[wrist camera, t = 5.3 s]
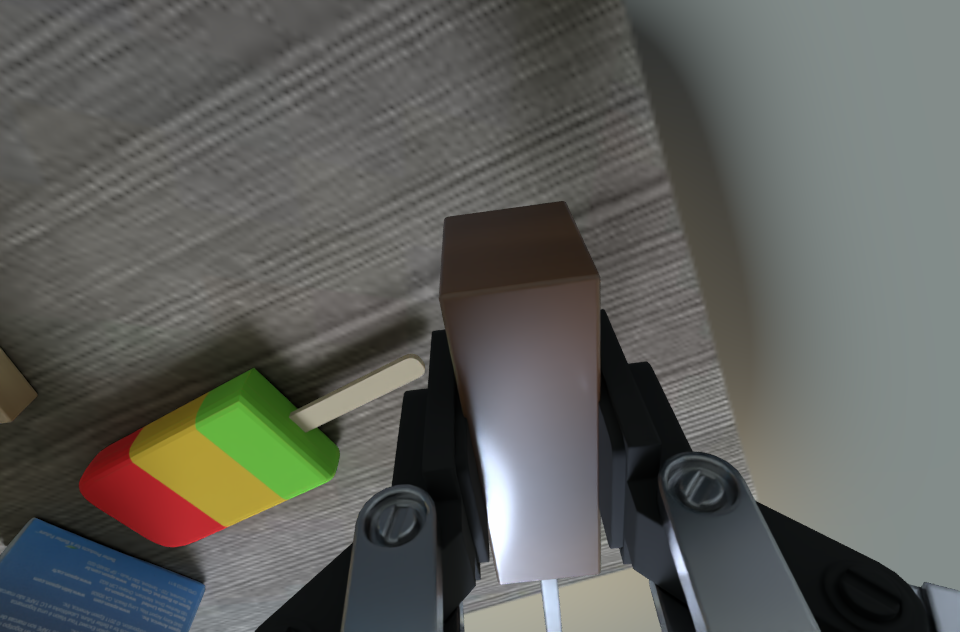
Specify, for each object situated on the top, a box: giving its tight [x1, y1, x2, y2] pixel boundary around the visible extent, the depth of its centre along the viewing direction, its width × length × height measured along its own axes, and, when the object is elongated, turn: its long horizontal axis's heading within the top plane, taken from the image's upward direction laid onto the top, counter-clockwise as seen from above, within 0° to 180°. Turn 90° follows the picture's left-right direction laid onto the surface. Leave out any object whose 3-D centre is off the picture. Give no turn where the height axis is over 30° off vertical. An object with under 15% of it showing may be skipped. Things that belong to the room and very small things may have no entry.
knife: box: [439, 201, 601, 632], centre depth 13 cm, size 17×2×3 cm, turn 8°
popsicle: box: [79, 354, 425, 547], centre depth 21 cm, size 6×15×2 cm, turn 119°
